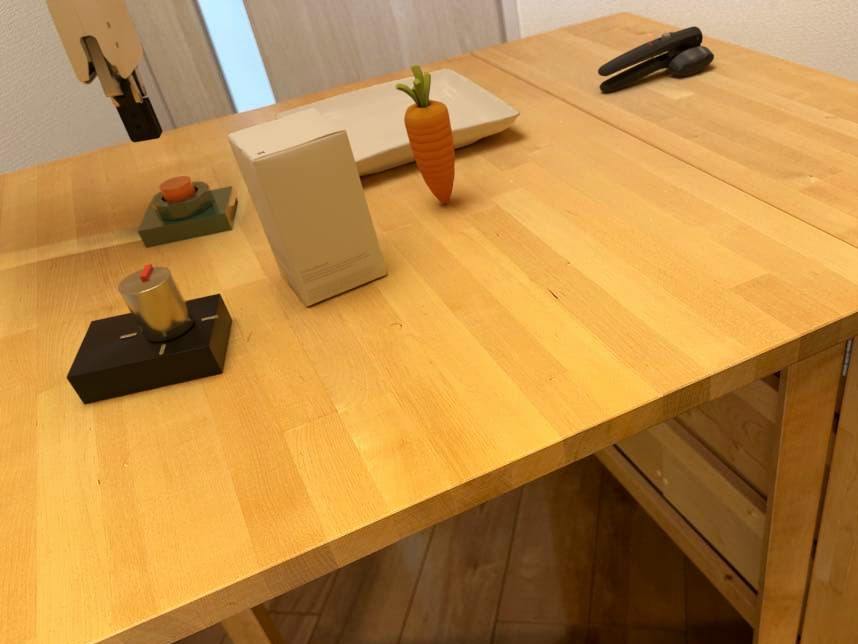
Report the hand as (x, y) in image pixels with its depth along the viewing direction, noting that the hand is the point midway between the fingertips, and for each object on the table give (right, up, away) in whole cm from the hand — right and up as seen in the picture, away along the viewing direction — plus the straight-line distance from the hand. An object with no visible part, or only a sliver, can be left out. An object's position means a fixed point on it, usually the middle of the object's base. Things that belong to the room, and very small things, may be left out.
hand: (147, 137), depth 85 cm
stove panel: (+9, -26, -15) cm, 31 cm away
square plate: (+24, +7, +21) cm, 33 cm away
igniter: (+2, -8, +7) cm, 11 cm away
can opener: (+60, +18, +26) cm, 68 cm away
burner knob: (+10, -23, -17) cm, 30 cm away
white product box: (+23, -17, -7) cm, 29 cm away
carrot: (+33, -7, +3) cm, 34 cm away
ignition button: (+1, -5, +5) cm, 7 cm away
